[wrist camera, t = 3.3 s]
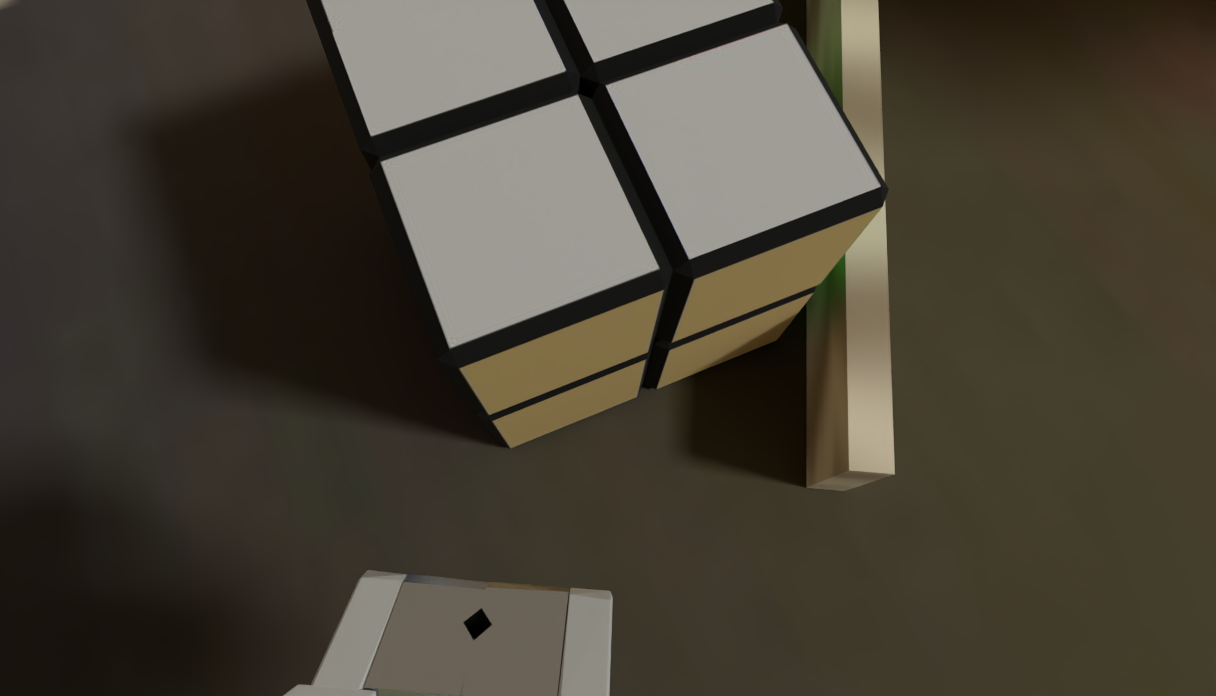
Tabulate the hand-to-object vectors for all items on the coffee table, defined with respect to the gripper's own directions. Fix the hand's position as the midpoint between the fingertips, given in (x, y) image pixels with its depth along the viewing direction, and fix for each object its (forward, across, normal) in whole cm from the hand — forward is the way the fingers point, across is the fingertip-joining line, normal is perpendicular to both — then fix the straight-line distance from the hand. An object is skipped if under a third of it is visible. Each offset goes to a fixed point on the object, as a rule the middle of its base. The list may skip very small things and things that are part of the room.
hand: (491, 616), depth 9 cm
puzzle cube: (+17, 0, +2) cm, 18 cm away
